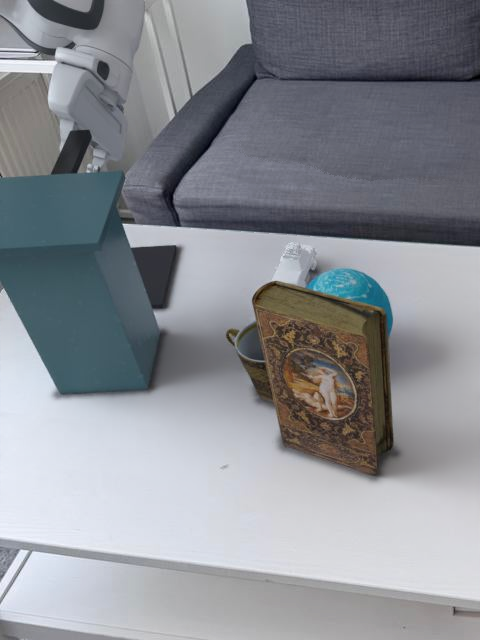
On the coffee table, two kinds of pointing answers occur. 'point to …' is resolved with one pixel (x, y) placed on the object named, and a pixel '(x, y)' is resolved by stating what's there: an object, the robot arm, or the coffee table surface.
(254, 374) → the ceramic cup
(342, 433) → the book
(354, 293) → the decorative orb
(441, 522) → the coffee table surface
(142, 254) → the mat
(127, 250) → the bin
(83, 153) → the lid
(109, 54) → the robot arm
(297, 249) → the toy car
